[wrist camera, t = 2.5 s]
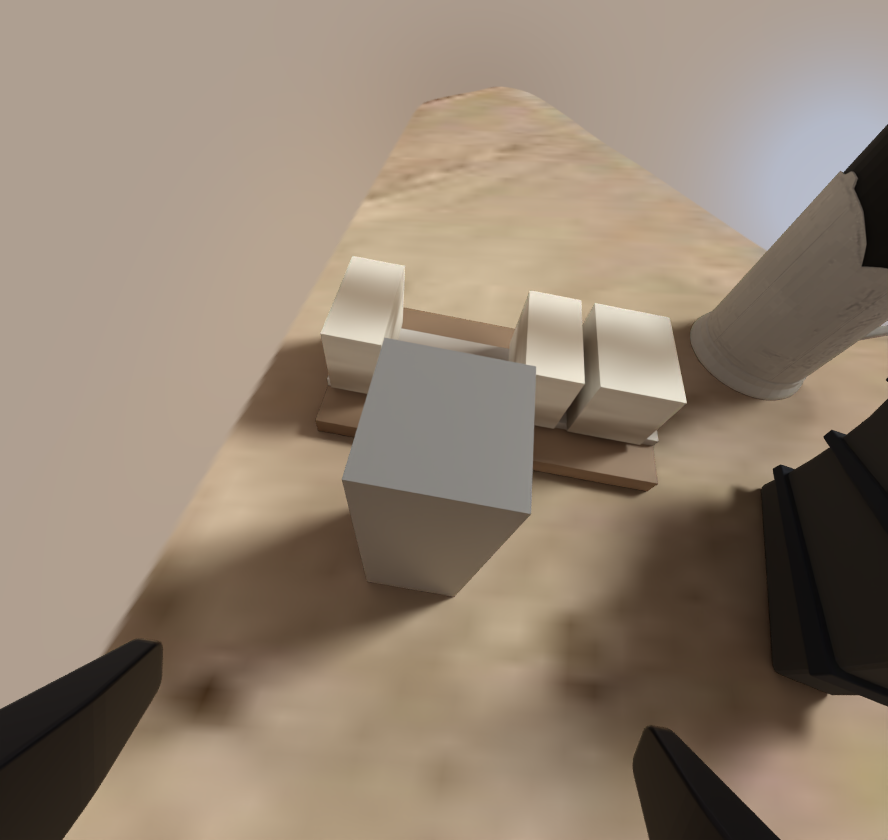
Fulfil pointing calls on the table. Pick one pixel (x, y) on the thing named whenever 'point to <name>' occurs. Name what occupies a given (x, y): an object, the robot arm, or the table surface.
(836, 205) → the glass holder
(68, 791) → the robot arm
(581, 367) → the board
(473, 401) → the block
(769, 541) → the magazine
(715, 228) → the table surface
